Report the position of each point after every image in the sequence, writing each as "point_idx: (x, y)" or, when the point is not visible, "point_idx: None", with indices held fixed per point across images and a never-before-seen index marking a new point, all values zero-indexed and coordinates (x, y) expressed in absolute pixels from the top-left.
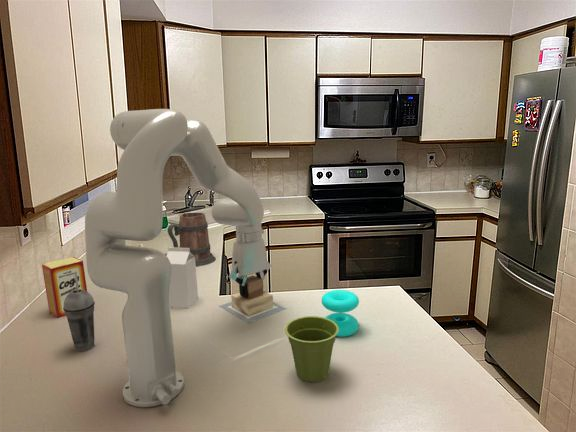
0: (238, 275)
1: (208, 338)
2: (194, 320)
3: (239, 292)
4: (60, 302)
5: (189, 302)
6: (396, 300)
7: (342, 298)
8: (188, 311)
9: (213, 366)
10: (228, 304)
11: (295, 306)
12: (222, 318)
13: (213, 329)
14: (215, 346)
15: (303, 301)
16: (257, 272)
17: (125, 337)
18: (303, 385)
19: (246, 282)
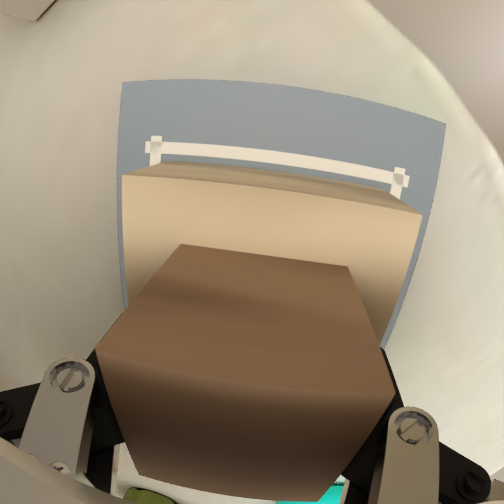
0: (22, 442)
1: (8, 301)
2: (4, 137)
3: (213, 189)
4: None
5: (17, 7)
6: (499, 463)
7: None
8: (32, 28)
9: (13, 385)
10: (177, 105)
11: (415, 385)
12: (80, 215)
13: (27, 268)
14: (19, 346)
15: (468, 372)
16: (396, 492)
17: None
18: (126, 492)
19: (131, 454)
